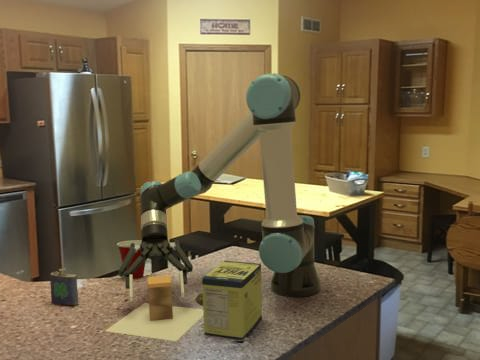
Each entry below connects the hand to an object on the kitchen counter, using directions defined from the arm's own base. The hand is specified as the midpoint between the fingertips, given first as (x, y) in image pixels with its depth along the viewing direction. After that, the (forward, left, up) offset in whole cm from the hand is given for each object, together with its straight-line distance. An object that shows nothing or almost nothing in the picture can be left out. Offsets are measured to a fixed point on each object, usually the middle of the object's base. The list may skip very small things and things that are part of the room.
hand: (157, 297), depth 141 cm
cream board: (-2, +3, -6) cm, 7 cm away
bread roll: (-12, -15, -7) cm, 20 cm away
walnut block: (-1, 0, -5) cm, 5 cm away
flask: (+32, -2, -6) cm, 33 cm away
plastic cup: (+25, -30, -6) cm, 40 cm away
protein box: (-22, 0, -6) cm, 23 cm away
